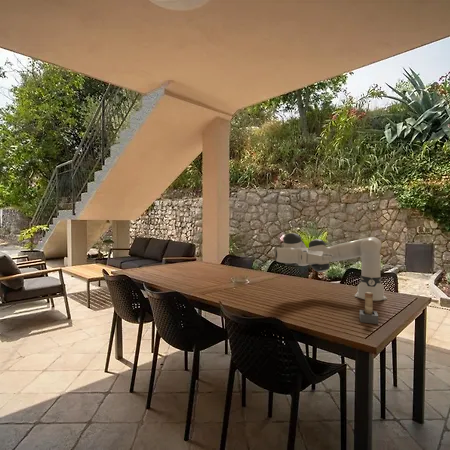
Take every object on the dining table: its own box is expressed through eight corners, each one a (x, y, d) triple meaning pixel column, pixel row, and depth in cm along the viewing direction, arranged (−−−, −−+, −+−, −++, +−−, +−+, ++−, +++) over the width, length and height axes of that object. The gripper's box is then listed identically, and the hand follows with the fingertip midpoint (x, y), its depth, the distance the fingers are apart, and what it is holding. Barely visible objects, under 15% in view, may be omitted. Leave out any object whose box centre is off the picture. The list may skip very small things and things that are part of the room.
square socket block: (359, 317, 167) (359, 309, 167) (376, 318, 164) (376, 311, 164) (360, 322, 159) (360, 314, 159) (378, 324, 157) (378, 315, 157)
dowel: (364, 317, 164) (364, 291, 163) (372, 317, 163) (372, 292, 162) (364, 319, 161) (365, 293, 160) (372, 320, 159) (373, 294, 159)
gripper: (306, 259, 183) (332, 260, 178) (302, 264, 163) (331, 266, 159) (306, 248, 183) (332, 249, 178) (303, 252, 163) (331, 253, 159)
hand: (332, 257), depth 168 cm, fingers open, 8 cm apart
